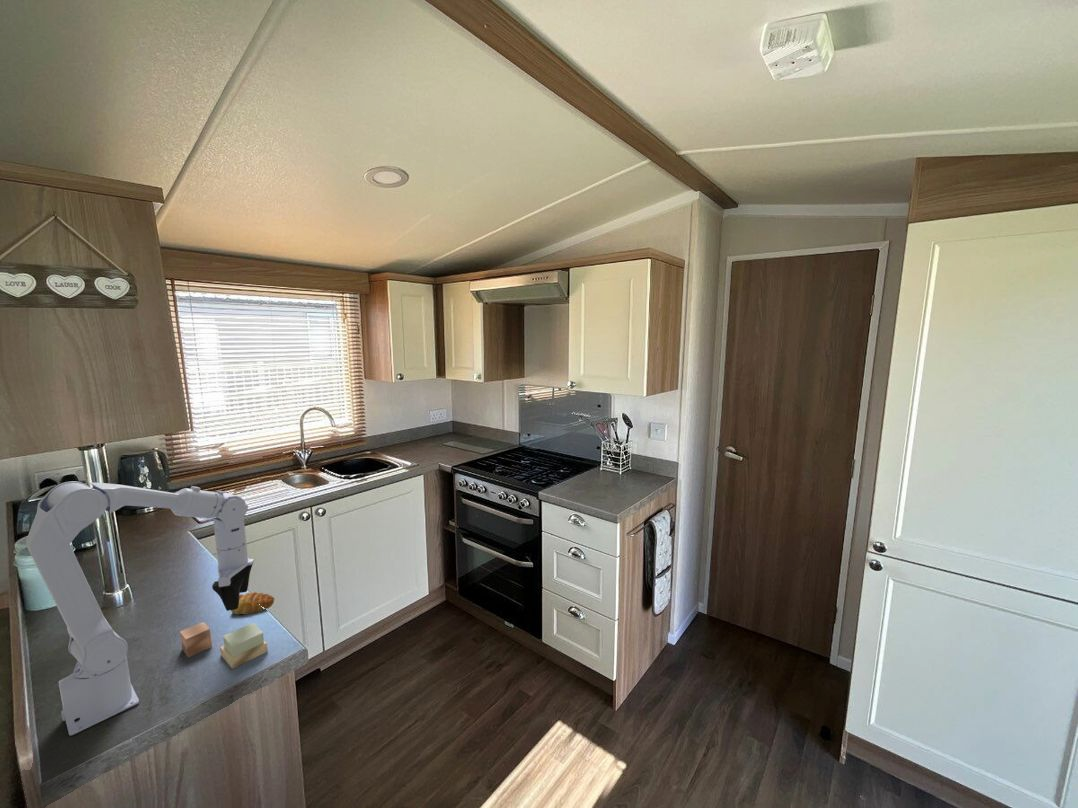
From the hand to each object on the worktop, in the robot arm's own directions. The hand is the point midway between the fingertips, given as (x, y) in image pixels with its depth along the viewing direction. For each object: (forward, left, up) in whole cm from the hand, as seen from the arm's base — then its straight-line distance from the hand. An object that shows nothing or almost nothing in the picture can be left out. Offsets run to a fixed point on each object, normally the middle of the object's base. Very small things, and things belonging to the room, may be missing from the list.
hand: (237, 600), depth 105 cm
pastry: (+7, +13, -10) cm, 17 cm away
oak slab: (-2, -6, -10) cm, 12 cm away
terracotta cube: (-8, +5, -10) cm, 13 cm away
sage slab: (-1, -6, -8) cm, 10 cm away
